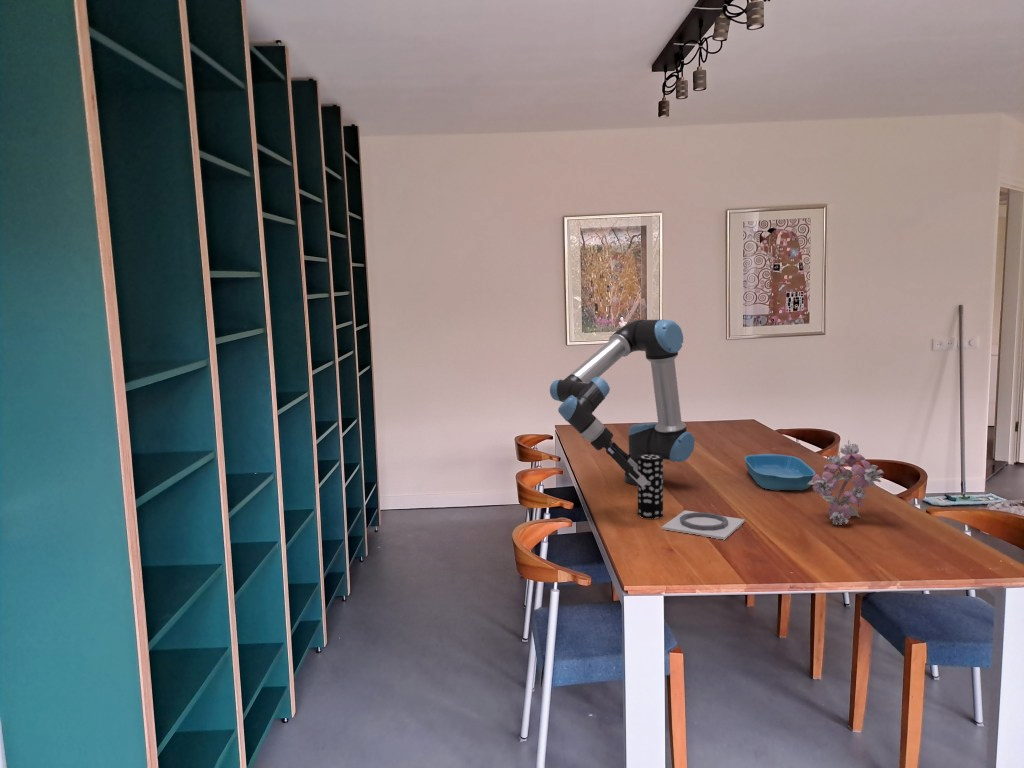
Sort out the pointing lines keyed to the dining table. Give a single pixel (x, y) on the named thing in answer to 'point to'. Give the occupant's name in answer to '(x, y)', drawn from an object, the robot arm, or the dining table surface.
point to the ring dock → (704, 524)
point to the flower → (845, 483)
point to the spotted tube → (651, 486)
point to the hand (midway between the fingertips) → (643, 479)
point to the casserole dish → (779, 471)
